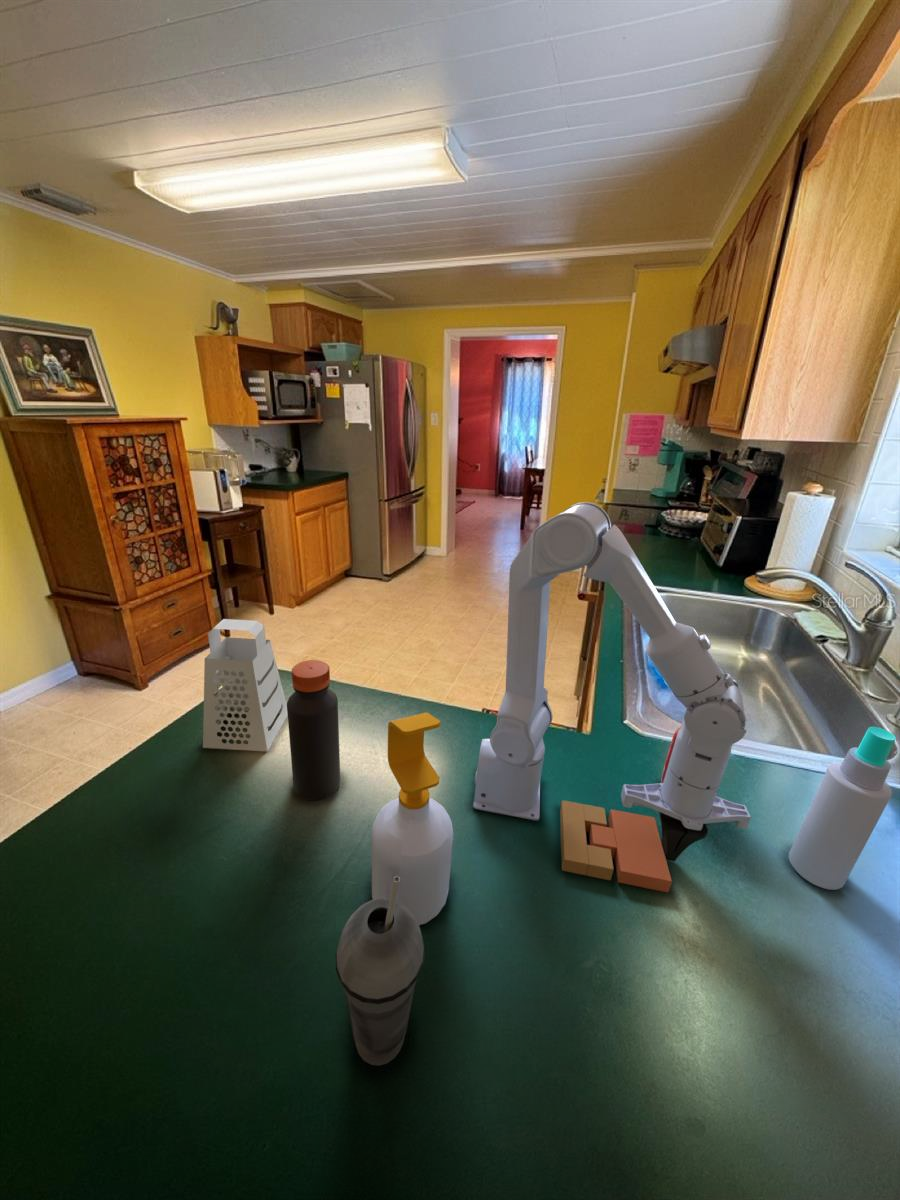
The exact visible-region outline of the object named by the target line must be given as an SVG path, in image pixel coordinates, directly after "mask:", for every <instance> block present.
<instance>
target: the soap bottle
mask: <svg viewBox="0 0 900 1200" xmlns="http://www.w3.org/2000/svg"><path fill="white" fill-rule="evenodd" d="M441 725H442V724H441V720H440V719H438V718H436V717H435V716H434V715H432V714H430V713H429V712H423V713H418V714H415V715H410V716H406V717H402V718H398V719H394V720H390V721H389V722H388V725H387V761H388V762H387V763H388V766H389V769H390V771H391V773H392V775H393V777H394V778H395V779H396V782H397V783H398V785H399V787H400V790H399V793H398V797H396V798H394V799H392V800H390V801H388V802H386V804H385V805H384V806H383V807H382V808H381V809H380V810H379V811H378V813H377V815H376V818H375V819H374V822H373V824H372V826H371V898H372V899H371V900H374V899H379V898H388V899H390V895H391V890H392V885H393V880H394V877H396V876H398V877H400V883H399V888H398V894H397V899H396V901H398V902H400V903H402V904H404V905H405V906H406V907H407V908H408V909H409V910H410V911H411V912H412V913H413V915H414V917H415V919H416V921H417V922H418V924H419V926H421V925H425V924H427V923H428V922H430V921H432V919H434V918H435V917H437V916H438V915H439V914H440V912H441V911H442V909H443V908H444V907H445V905H446V903H447V898H448V895H449V891H450V880H451V879H450V878H451V865H452V857H453V856H452V855H453V843H454V828H453V822H452V820H451V817H450V815H449V813H448V812H447V810H446V808H445V807H444V806H443V805H442V804H440V803H439V802H438V801H436V800H435V799H433V798H432V797H430V794H431V793H430V790H429V789H431V788H434V787H438V785H439V784H440V775H439V774H438V773H437V771H436V770H435V768H434V767H433V765H432V764H431V762H430V761H429V759H428V758H427V756H426V754H425V749H424V748H425V747H424V746H425V745H424V744H425V743H424V740H425V732H427V731H430V730H434V729H438V728H440V727H441Z"/></svg>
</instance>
